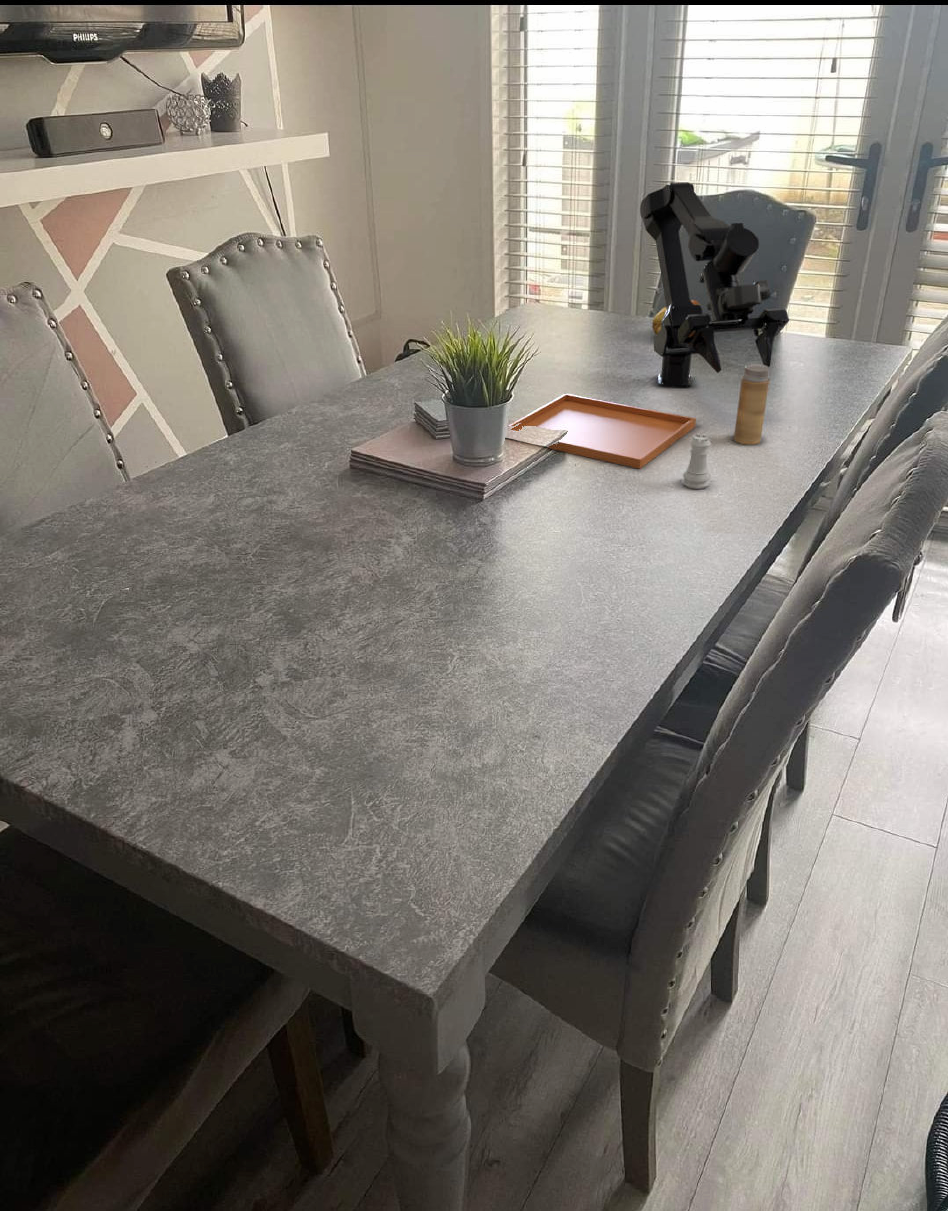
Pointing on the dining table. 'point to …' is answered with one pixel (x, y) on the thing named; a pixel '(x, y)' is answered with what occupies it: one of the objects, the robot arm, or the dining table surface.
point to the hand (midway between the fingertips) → (743, 369)
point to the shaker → (752, 404)
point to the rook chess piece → (697, 464)
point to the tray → (608, 429)
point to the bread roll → (659, 318)
